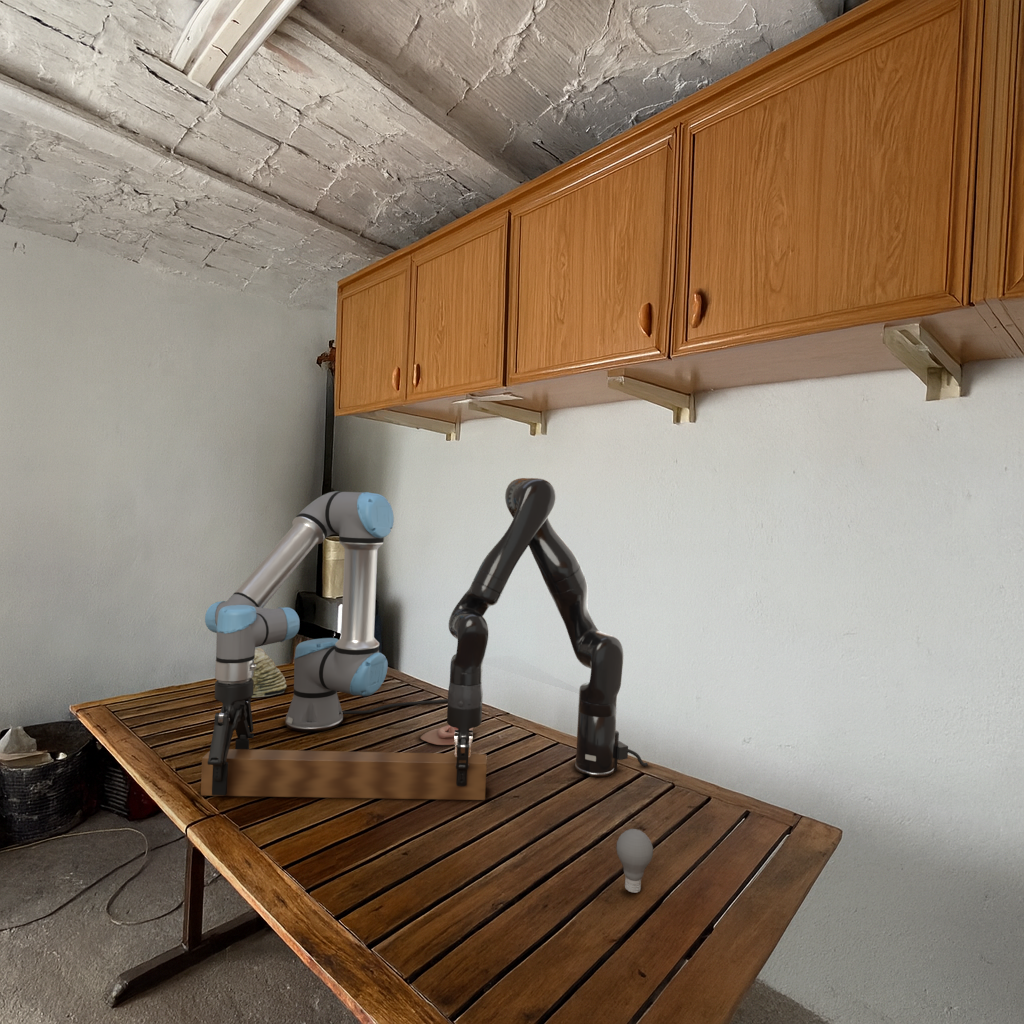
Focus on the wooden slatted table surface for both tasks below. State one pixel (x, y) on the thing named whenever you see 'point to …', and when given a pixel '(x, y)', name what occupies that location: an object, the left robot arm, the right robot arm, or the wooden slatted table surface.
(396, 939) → the wooden slatted table surface
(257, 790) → the beam
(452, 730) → the anatomical model
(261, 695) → the fossil
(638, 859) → the light bulb
